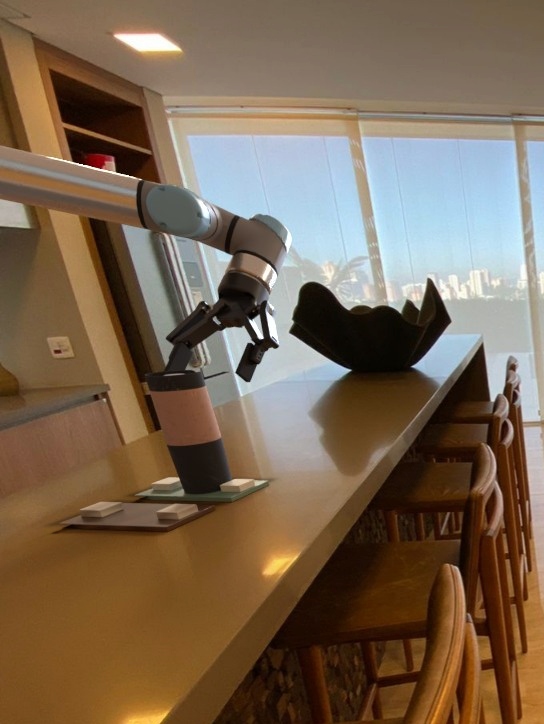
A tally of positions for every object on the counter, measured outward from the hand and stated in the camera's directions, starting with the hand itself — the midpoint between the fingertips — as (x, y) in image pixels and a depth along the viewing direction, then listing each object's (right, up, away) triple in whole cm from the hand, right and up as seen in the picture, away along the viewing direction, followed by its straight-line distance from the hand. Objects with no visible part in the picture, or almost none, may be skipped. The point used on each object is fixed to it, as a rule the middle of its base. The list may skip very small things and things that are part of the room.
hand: (206, 377), depth 99 cm
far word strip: (-1, -20, +1) cm, 20 cm away
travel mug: (0, -19, +1) cm, 20 cm away
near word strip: (-2, -25, -10) cm, 27 cm away
